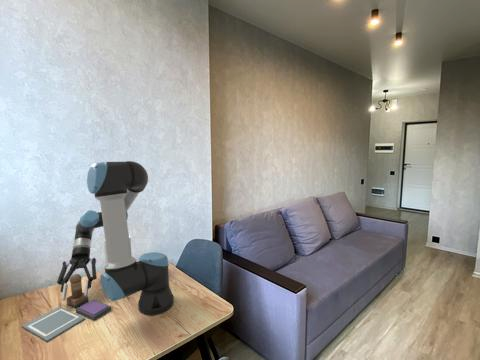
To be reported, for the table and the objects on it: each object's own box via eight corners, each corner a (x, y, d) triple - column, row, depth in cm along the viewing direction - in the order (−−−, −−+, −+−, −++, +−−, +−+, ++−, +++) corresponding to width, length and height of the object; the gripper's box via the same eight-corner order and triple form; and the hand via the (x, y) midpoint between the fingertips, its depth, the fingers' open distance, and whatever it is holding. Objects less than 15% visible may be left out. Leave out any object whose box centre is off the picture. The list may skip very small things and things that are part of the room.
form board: (85, 319, 106) (85, 317, 106) (47, 342, 94) (47, 340, 94) (59, 307, 114) (59, 306, 114) (21, 327, 102) (21, 325, 102)
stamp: (88, 301, 119) (86, 273, 117) (75, 308, 113) (72, 279, 112) (80, 298, 121) (78, 270, 120) (67, 305, 116) (64, 276, 114)
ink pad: (111, 309, 112) (110, 305, 112) (93, 320, 105) (93, 316, 105) (93, 302, 118) (93, 298, 118) (75, 312, 111) (75, 308, 110)
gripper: (106, 249, 133) (102, 295, 120) (59, 255, 127) (50, 304, 113) (103, 243, 127) (99, 291, 114) (54, 248, 121) (43, 299, 108)
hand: (74, 297), depth 114 cm, fingers open, 8 cm apart
